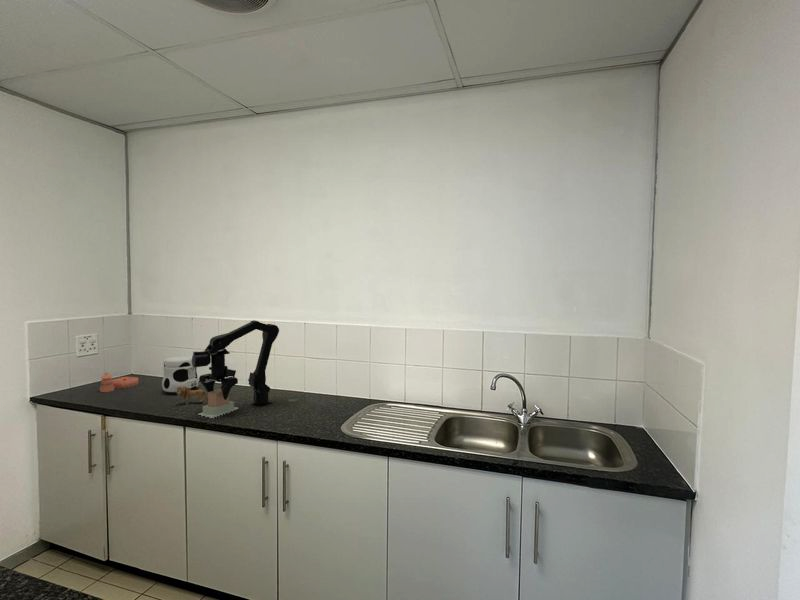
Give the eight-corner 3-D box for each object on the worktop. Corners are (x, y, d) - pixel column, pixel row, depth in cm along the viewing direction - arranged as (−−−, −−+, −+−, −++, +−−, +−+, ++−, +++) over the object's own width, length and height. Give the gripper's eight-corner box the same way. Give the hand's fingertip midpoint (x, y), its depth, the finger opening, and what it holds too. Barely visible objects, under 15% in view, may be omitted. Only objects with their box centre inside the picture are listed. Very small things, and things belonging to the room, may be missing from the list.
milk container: (164, 388, 217) (163, 356, 216) (199, 385, 224) (198, 354, 223) (160, 397, 201) (159, 362, 200) (198, 393, 208) (197, 359, 207)
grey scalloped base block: (238, 409, 183) (238, 401, 183) (212, 418, 171) (212, 410, 171) (224, 406, 187) (224, 398, 187) (198, 415, 175) (198, 407, 174)
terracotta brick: (228, 402, 181) (228, 389, 181) (215, 407, 175) (215, 393, 174) (221, 401, 183) (220, 388, 183) (208, 405, 177) (207, 392, 176)
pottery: (125, 383, 227) (124, 366, 226) (138, 384, 225) (138, 367, 224) (94, 392, 209) (93, 374, 209) (108, 393, 207) (107, 375, 207)
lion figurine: (175, 406, 187) (175, 387, 186) (177, 403, 192) (177, 385, 191) (209, 403, 192) (209, 385, 191) (210, 400, 197) (210, 382, 196)
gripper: (247, 363, 181) (247, 396, 182) (218, 359, 189) (219, 391, 190) (227, 367, 171) (227, 403, 172) (197, 363, 179) (198, 397, 180)
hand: (218, 398), depth 179 cm, fingers open, 9 cm apart
